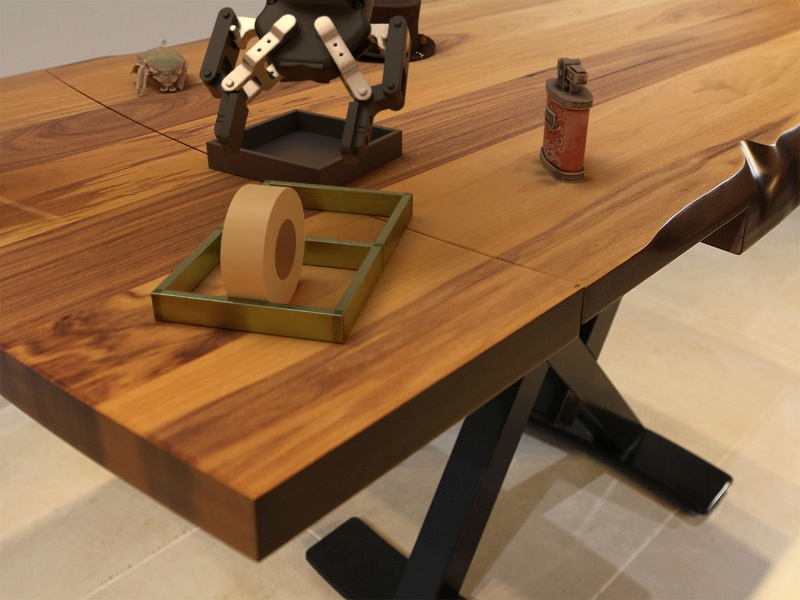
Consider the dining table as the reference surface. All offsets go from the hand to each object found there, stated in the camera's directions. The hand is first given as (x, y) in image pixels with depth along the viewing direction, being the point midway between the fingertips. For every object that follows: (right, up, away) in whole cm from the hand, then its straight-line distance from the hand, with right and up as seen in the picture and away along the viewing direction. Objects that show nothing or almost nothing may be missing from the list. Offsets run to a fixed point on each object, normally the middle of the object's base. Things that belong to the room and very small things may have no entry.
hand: (287, 154), depth 58 cm
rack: (0, -7, +5) cm, 9 cm away
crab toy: (-23, +17, +49) cm, 56 cm away
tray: (-1, +4, +24) cm, 24 cm away
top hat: (+5, +26, +66) cm, 71 cm away
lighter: (+23, +3, +23) cm, 33 cm away
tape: (-1, -9, +1) cm, 9 cm away
